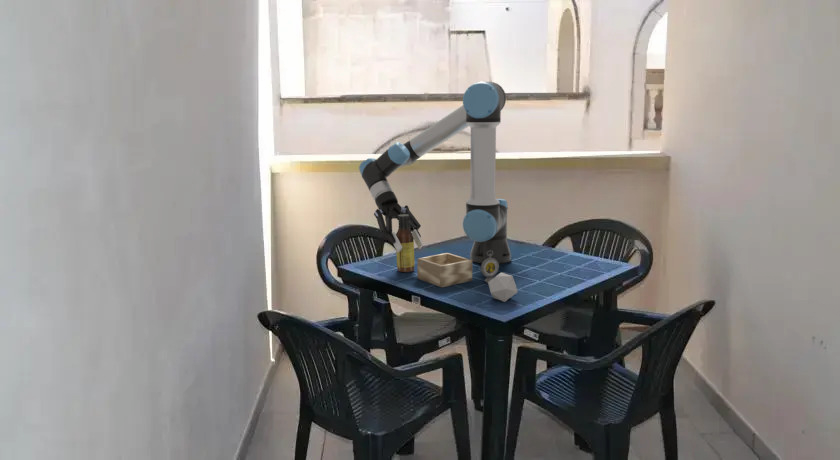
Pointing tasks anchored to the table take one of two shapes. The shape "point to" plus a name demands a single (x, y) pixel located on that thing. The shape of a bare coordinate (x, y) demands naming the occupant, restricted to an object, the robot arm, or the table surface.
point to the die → (502, 287)
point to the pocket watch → (489, 267)
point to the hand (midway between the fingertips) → (410, 248)
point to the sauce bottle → (405, 245)
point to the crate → (444, 269)
